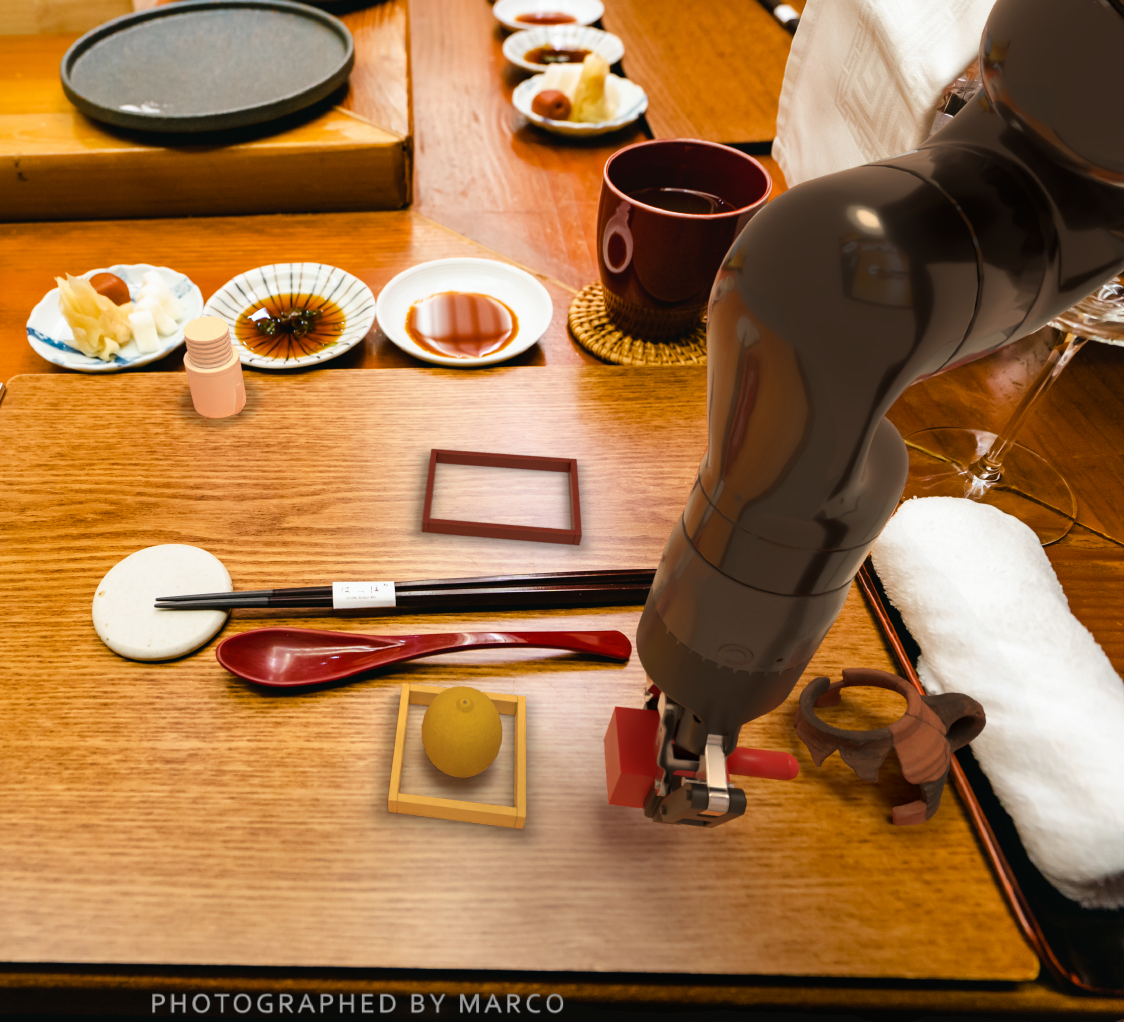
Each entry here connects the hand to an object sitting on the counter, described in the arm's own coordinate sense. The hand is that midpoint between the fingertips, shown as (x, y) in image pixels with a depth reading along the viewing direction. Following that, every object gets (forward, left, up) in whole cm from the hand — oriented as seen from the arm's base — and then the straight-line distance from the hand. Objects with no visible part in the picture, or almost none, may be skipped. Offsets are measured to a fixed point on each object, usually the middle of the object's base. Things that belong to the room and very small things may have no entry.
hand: (656, 773), depth 49 cm
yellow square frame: (+12, -3, -8) cm, 14 cm away
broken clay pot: (-18, -7, -8) cm, 21 cm away
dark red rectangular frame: (+9, -30, -8) cm, 33 cm away
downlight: (+40, -42, -8) cm, 59 cm away
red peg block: (-2, 0, 0) cm, 2 cm away
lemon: (+12, -3, -7) cm, 14 cm away
